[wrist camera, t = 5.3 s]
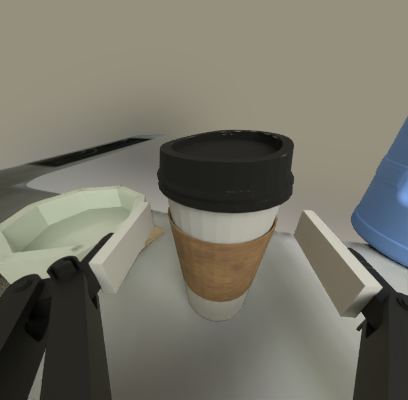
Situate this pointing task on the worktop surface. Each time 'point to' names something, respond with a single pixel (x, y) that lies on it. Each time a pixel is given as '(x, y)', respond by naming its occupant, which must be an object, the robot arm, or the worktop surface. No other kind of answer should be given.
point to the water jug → (387, 203)
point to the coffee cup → (224, 210)
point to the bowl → (64, 228)
